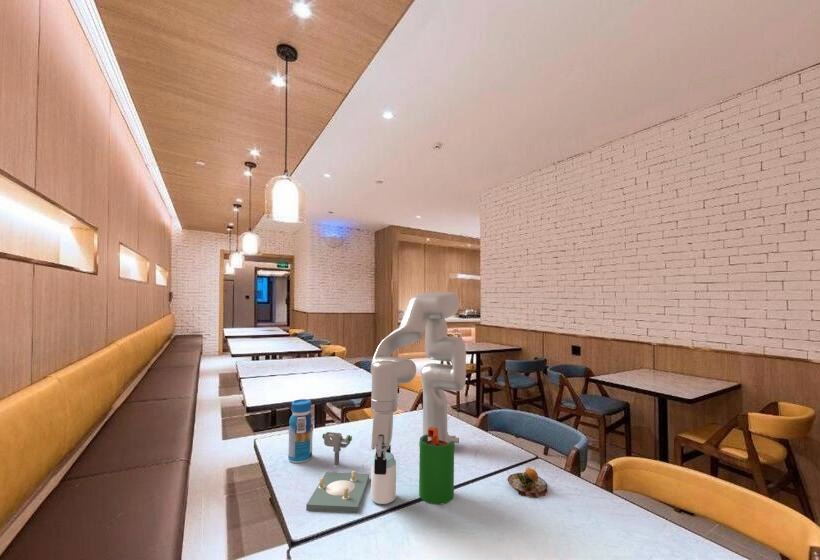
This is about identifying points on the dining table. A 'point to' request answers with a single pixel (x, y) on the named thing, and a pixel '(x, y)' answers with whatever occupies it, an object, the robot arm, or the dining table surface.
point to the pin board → (339, 492)
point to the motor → (436, 469)
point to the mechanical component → (336, 443)
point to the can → (384, 482)
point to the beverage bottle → (300, 432)
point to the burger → (528, 483)
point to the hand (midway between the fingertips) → (382, 465)
